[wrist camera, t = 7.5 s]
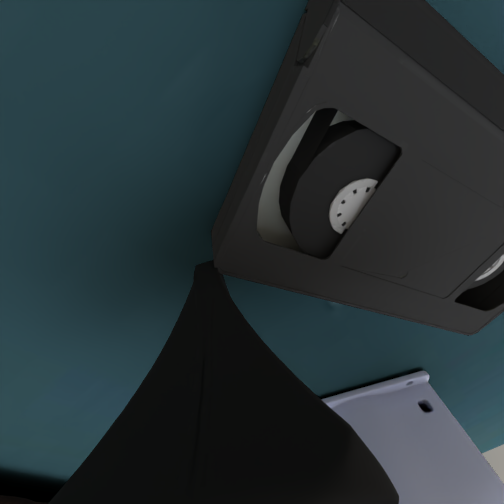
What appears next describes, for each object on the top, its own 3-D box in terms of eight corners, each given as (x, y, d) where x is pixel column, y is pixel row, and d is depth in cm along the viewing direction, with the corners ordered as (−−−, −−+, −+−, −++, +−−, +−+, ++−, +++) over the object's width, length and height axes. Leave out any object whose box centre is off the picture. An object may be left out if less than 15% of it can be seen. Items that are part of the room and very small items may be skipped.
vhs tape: (207, 239, 10) (209, 272, 8) (319, -27, 6) (362, -60, 5) (443, 309, 15) (473, 337, 14) (577, 184, 12) (639, 203, 10)
